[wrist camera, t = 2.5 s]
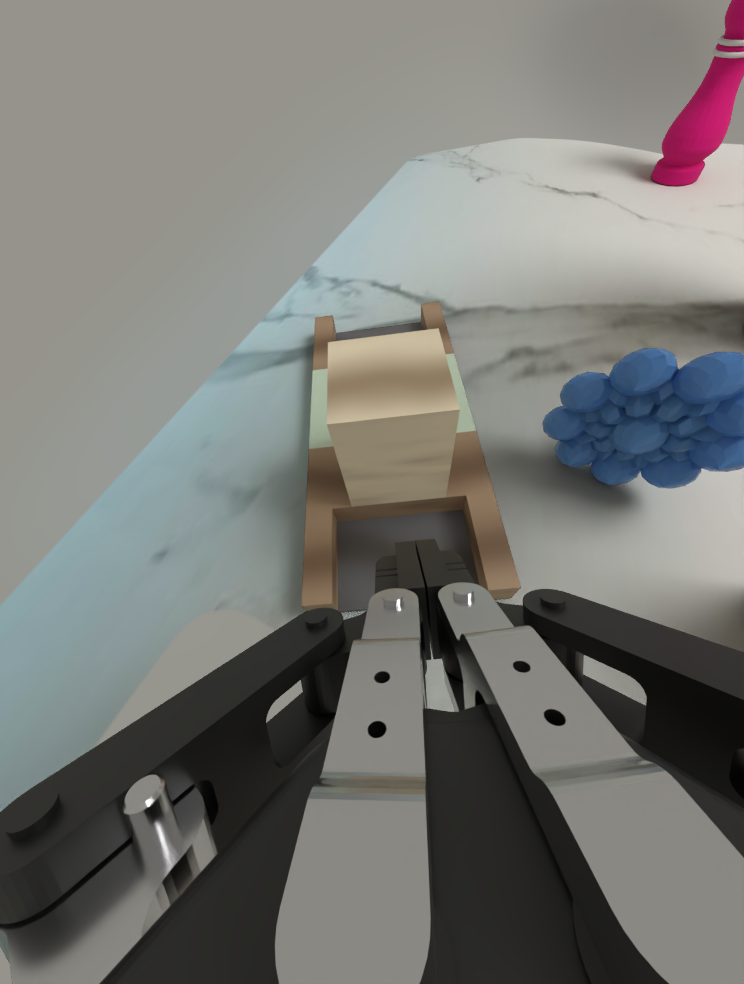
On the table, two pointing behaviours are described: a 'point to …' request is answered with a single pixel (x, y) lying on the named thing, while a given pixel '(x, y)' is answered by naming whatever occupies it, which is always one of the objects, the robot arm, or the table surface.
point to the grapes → (653, 418)
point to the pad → (319, 406)
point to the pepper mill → (705, 109)
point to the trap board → (397, 509)
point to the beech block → (392, 416)
